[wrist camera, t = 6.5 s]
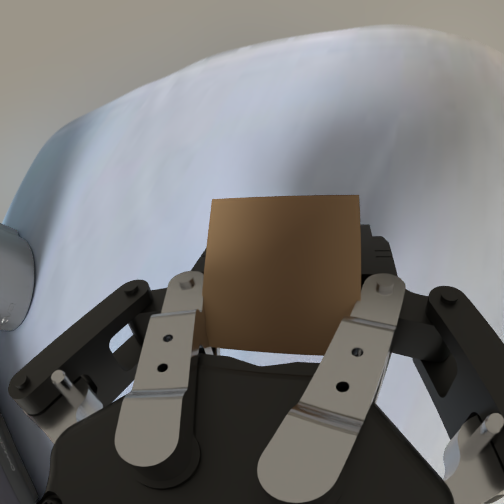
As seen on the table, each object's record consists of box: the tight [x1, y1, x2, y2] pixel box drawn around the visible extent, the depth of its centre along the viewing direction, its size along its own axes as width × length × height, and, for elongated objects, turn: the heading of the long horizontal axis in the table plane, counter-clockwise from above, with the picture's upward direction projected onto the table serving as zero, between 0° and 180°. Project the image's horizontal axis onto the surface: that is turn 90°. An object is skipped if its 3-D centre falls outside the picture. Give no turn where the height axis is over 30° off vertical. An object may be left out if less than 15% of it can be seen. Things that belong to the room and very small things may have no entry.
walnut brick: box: [202, 195, 361, 356], centre depth 13 cm, size 4×4×8 cm
